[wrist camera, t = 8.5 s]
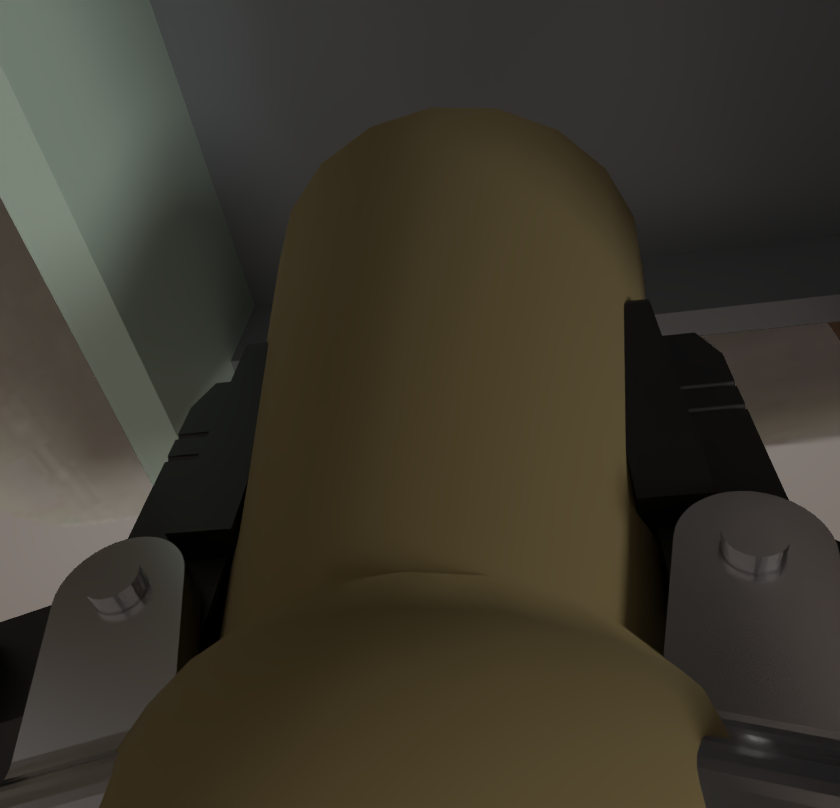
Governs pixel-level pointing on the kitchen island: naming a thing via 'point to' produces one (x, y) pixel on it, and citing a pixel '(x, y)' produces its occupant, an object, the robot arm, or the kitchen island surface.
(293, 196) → the drawer
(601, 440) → the olive tall rounded piece
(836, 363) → the kitchen island surface
